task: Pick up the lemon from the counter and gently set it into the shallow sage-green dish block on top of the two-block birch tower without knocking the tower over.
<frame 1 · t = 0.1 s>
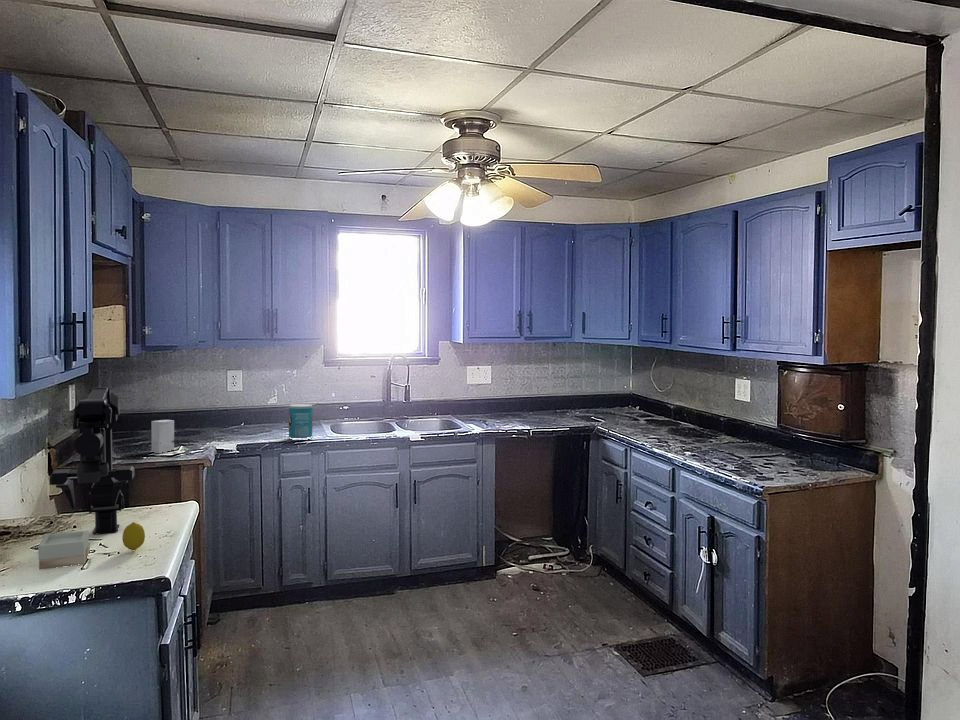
hand: (93, 507, 177), 15 cm above the countertop, tool pointing down, fingers open, 9 cm apart
dish block: (64, 550, 179), point 3 cm above the countertop
lemon: (133, 551, 187), on the countertop
base block: (65, 562, 179), on the countertop
food can: (300, 439, 358), on the countertop
skincare box: (163, 452, 318), on the countertop
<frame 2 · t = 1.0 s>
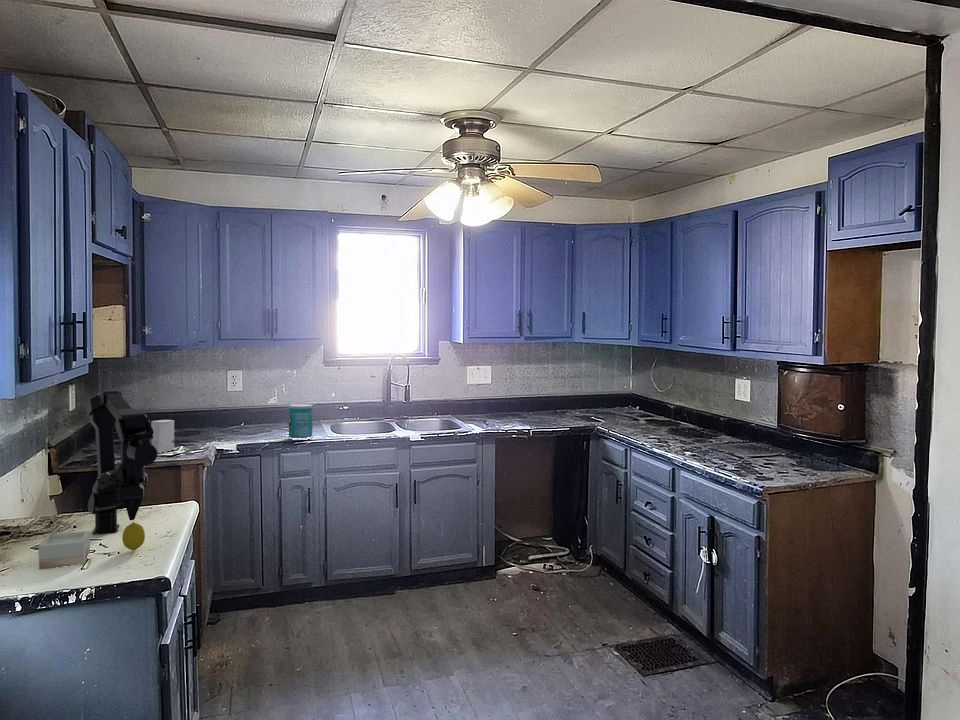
hand: (133, 515, 187), 10 cm above the countertop, tool pointing down, fingers open, 9 cm apart
dish block: (65, 551, 179), point 2 cm above the countertop, touching base block
base block: (65, 562, 179), on the countertop, touching dish block
everything else where it was.
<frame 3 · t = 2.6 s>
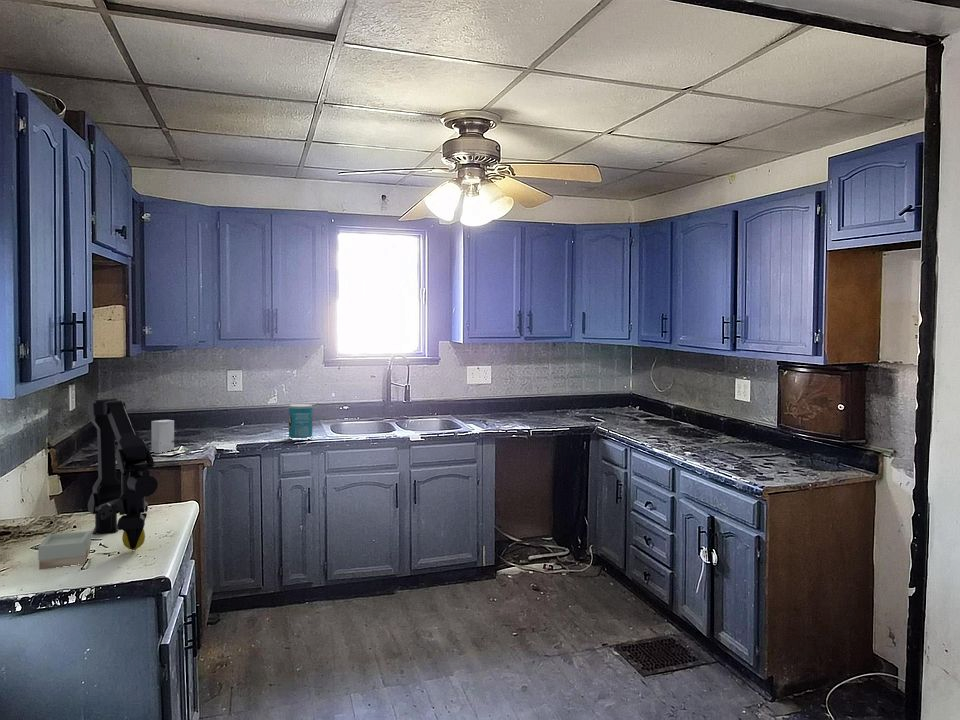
hand: (133, 545, 187), 2 cm above the countertop, tool pointing down, fingers closed on lemon, 5 cm apart
lemon: (133, 551, 187), on the countertop, touching gripper
everything else where it was.
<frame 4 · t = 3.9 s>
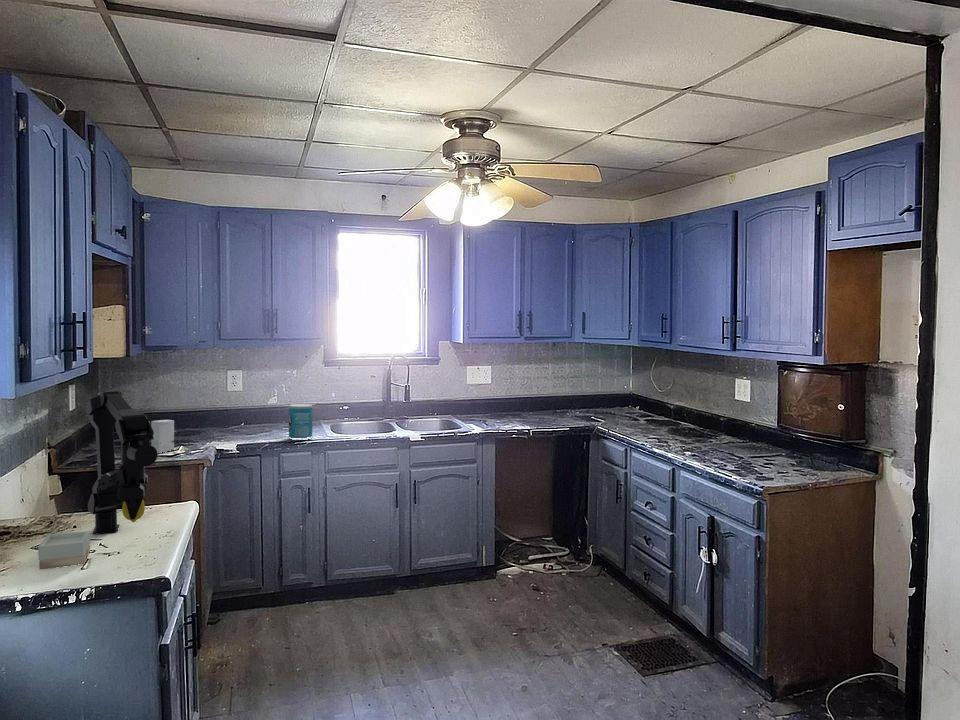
hand: (133, 516, 187), 10 cm above the countertop, tool pointing down, fingers closed on lemon, 5 cm apart
lemon: (133, 522, 187), point 8 cm above the countertop, touching gripper
everything else where it was.
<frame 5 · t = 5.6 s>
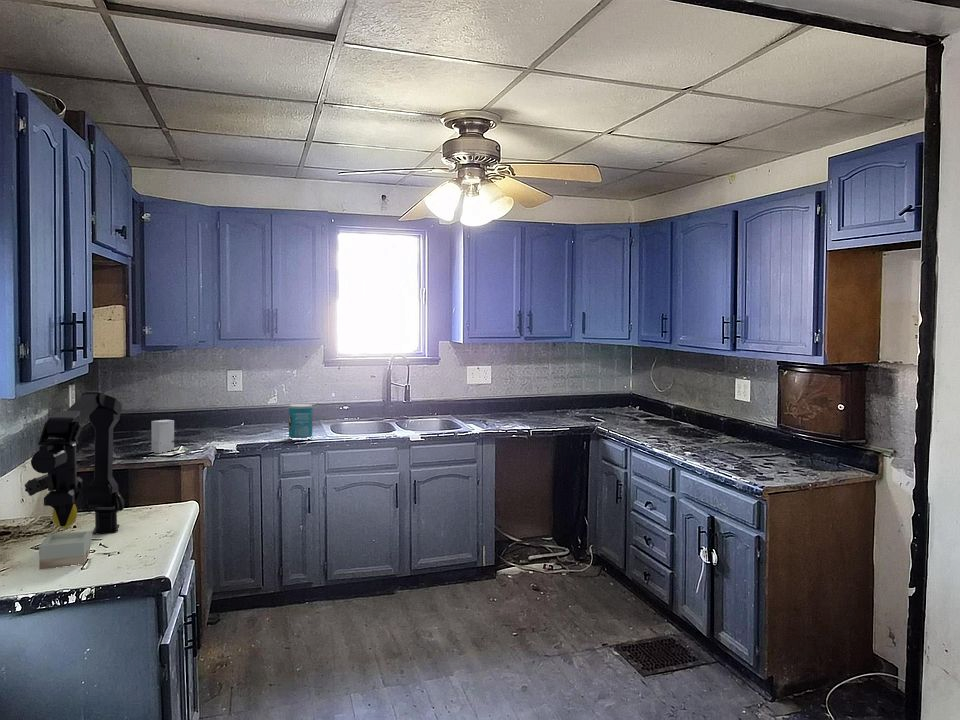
hand: (65, 522, 179), 10 cm above the countertop, tool pointing down, fingers closed on lemon, 5 cm apart
lemon: (65, 529, 179), point 8 cm above the countertop, touching gripper
everything else where it was.
when the fingers open (8 cm above the countertop, at t = 6.7 s): lemon drops 2 cm, resting on dish block.
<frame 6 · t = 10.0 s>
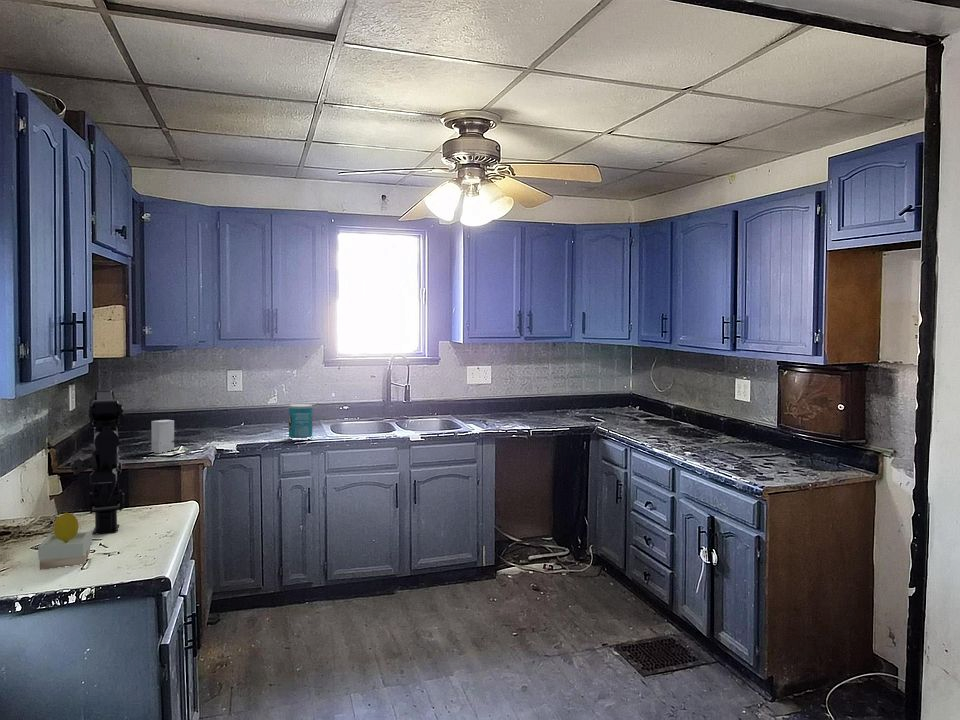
hand: (106, 500, 189), 13 cm above the countertop, tool pointing down, fingers open, 9 cm apart
dish block: (66, 551, 179), point 2 cm above the countertop, touching base block, lemon
lemon: (66, 543, 179), point 5 cm above the countertop, touching dish block
everything else where it was.
at the end: lemon 0.1 cm off-centre on the dish block, point 2.4 cm above the dish block's base; dish block 0.1 cm off-centre on the base block, point 3.0 cm above the base block's base; dish block tilted 0° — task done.
